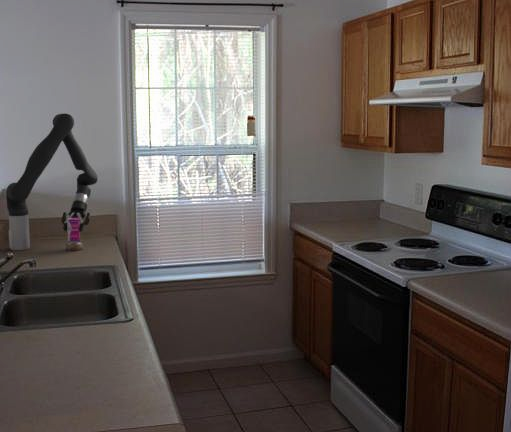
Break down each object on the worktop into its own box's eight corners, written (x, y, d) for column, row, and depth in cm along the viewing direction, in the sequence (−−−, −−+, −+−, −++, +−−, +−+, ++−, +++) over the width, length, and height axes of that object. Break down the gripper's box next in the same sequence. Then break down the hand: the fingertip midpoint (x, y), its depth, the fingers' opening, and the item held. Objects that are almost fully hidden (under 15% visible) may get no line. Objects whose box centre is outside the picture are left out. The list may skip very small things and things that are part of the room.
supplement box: (67, 242, 335) (66, 219, 333) (68, 240, 341) (67, 217, 339) (79, 241, 337) (78, 219, 335) (80, 239, 342) (79, 217, 340)
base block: (69, 251, 334) (68, 245, 333) (63, 249, 340) (63, 243, 340) (84, 250, 338) (84, 244, 338) (79, 247, 345) (79, 241, 344)
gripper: (64, 199, 344) (56, 226, 334) (91, 199, 342) (84, 226, 333) (68, 208, 350) (61, 234, 340) (95, 208, 348) (88, 235, 339)
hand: (72, 230), depth 336 cm, fingers closed on supplement box, 7 cm apart
